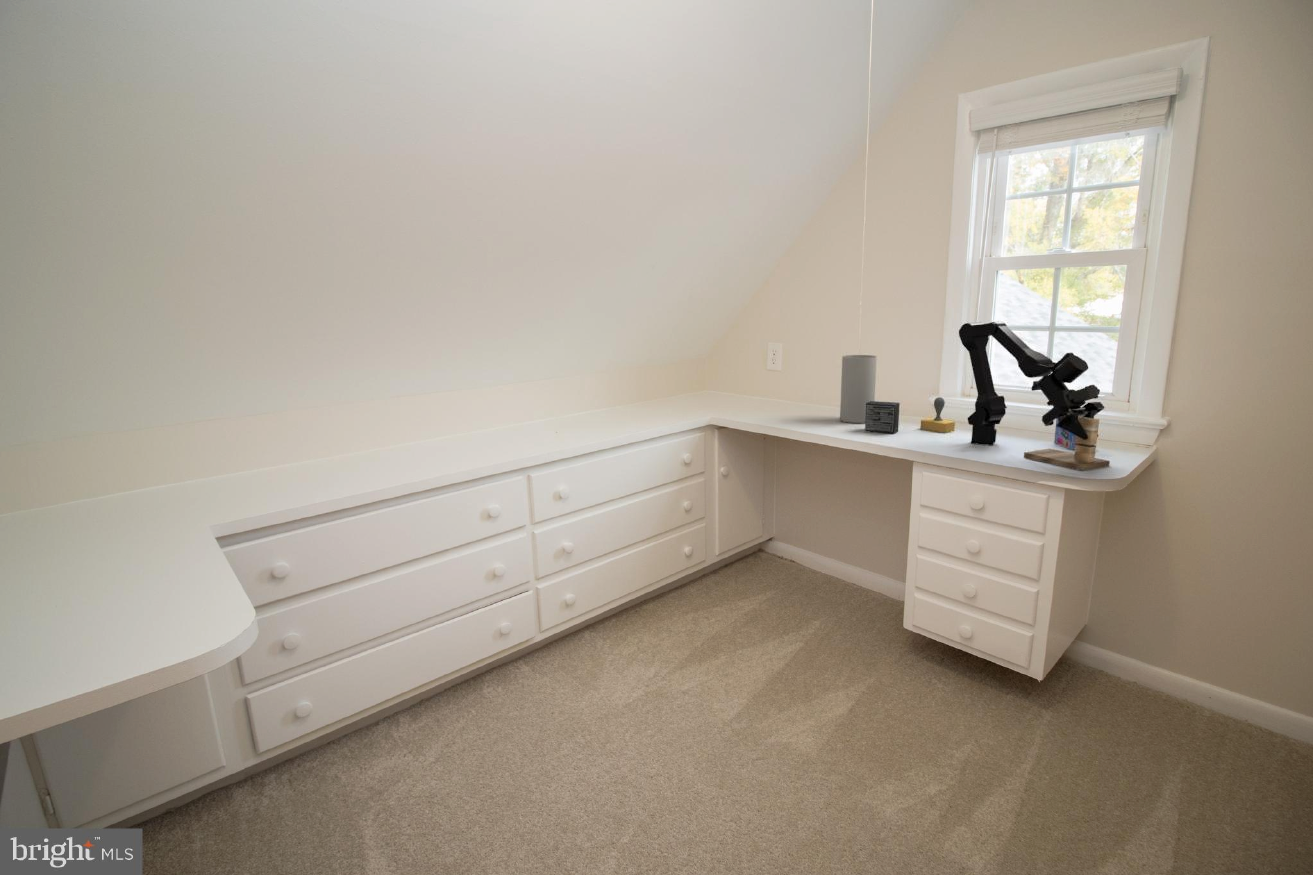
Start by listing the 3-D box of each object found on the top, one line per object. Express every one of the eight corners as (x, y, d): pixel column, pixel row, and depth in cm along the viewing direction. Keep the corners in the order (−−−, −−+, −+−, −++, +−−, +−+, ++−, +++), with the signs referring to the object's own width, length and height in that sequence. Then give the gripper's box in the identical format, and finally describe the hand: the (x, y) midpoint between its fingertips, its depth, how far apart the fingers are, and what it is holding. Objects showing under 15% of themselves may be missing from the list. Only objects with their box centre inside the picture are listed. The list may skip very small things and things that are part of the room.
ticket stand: (1023, 457, 190) (1025, 437, 189) (1049, 453, 194) (1051, 433, 193) (1082, 471, 174) (1085, 449, 173) (1109, 466, 179) (1111, 444, 177)
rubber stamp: (954, 431, 229) (957, 397, 226) (945, 433, 225) (947, 399, 223) (929, 427, 237) (931, 394, 234) (919, 429, 233) (921, 396, 231)
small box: (899, 431, 231) (900, 402, 229) (894, 434, 226) (896, 404, 224) (868, 428, 237) (870, 400, 235) (864, 431, 232) (865, 402, 229)
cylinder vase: (857, 416, 260) (859, 354, 254) (880, 421, 249) (883, 356, 243) (833, 420, 254) (835, 356, 249) (855, 425, 243) (858, 358, 238)
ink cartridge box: (1052, 442, 208) (1057, 398, 205) (1070, 442, 207) (1075, 398, 204) (1068, 449, 198) (1073, 403, 195) (1087, 449, 198) (1093, 402, 195)
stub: (1075, 442, 180) (1078, 418, 178) (1081, 441, 181) (1084, 417, 179) (1090, 445, 176) (1093, 420, 175) (1096, 444, 177) (1099, 419, 176)
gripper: (1056, 377, 174) (1092, 424, 167) (1101, 373, 182) (1138, 417, 174) (1027, 402, 183) (1060, 448, 176) (1071, 397, 190) (1104, 441, 183)
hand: (1091, 438), depth 177 cm, fingers open, 4 cm apart
